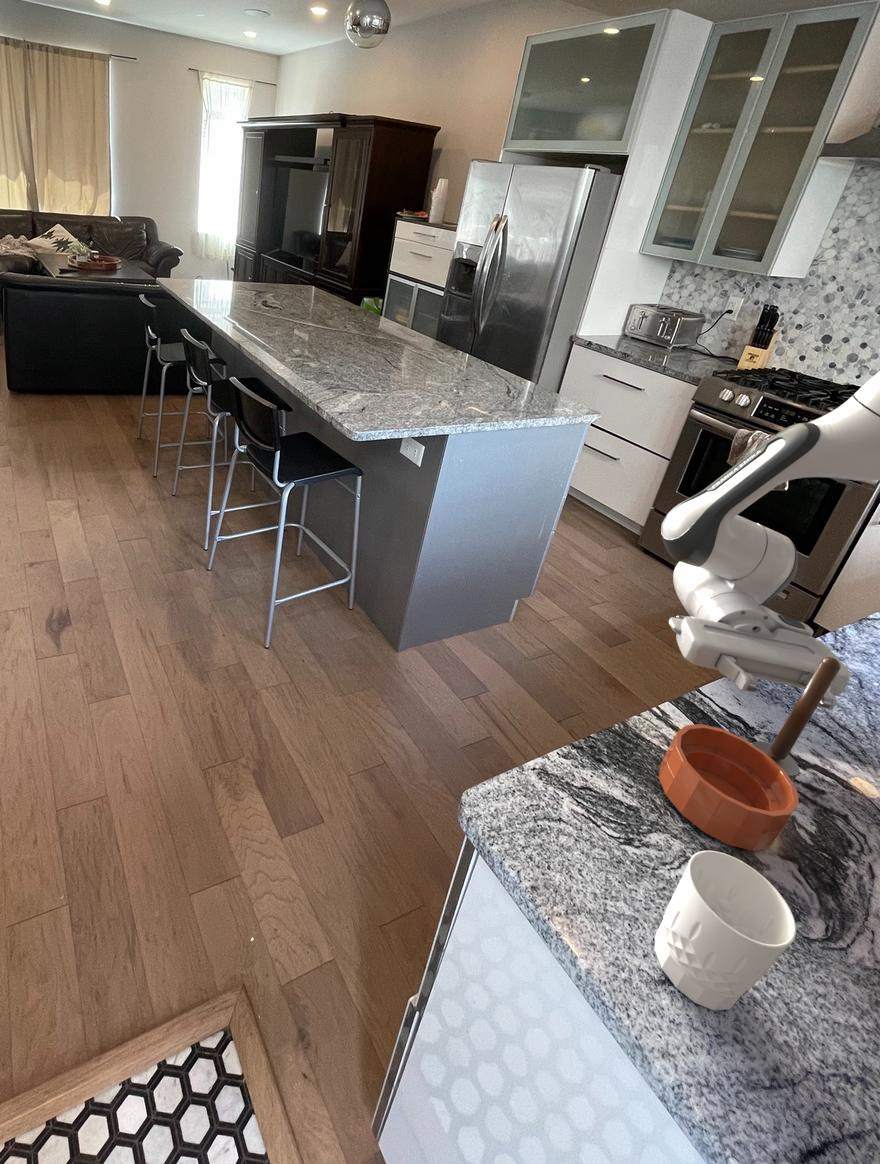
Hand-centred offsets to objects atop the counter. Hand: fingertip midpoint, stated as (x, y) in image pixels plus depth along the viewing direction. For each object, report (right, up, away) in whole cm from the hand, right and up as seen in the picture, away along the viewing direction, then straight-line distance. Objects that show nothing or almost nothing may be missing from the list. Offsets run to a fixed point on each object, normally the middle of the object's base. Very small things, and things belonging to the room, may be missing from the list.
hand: (789, 696), depth 79 cm
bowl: (-13, -11, -5) cm, 18 cm away
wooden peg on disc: (-2, -10, +1) cm, 10 cm away
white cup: (-26, -16, -23) cm, 38 cm away
